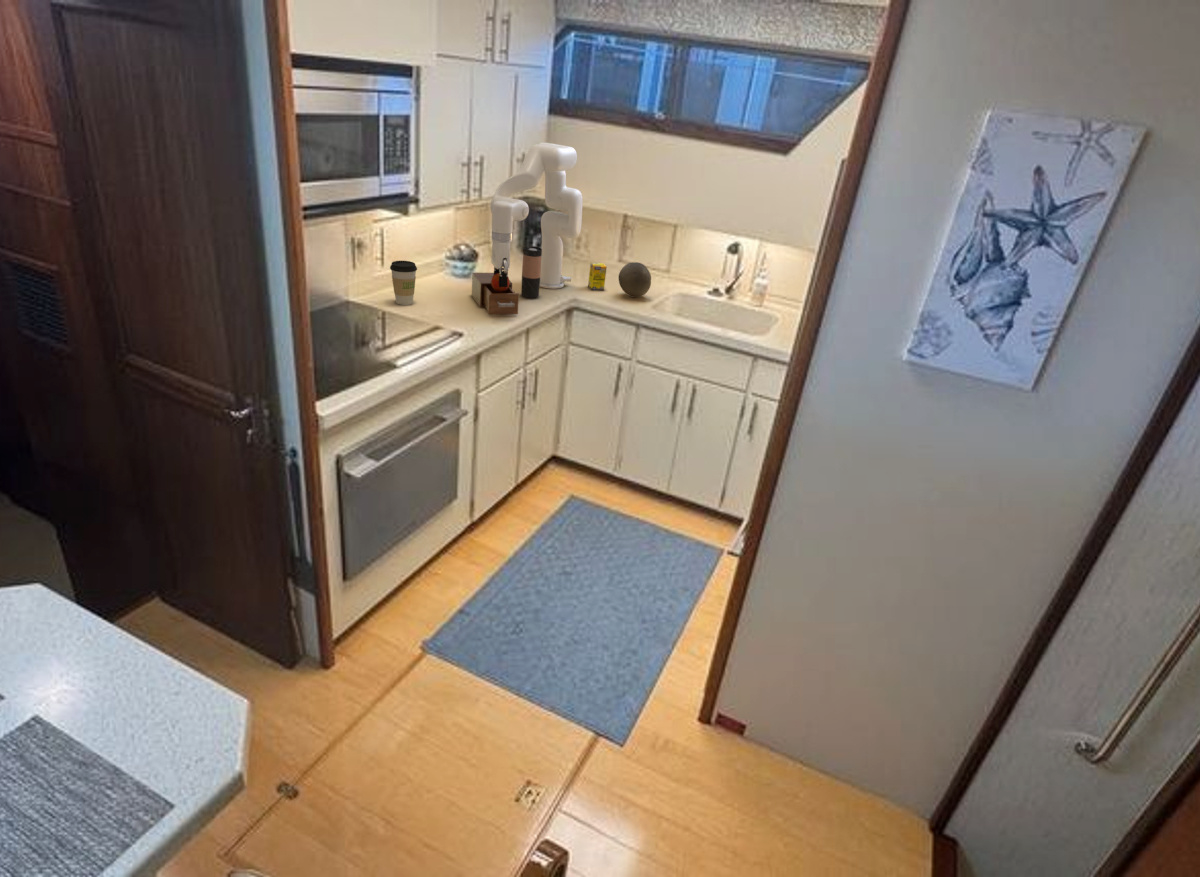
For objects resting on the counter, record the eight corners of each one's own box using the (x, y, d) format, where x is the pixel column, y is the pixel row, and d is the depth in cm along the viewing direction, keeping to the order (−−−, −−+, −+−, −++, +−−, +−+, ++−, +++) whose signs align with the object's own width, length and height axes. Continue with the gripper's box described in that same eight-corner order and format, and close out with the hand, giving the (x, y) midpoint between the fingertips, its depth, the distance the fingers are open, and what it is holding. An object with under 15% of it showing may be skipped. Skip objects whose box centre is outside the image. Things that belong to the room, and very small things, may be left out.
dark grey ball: (628, 290, 314) (632, 257, 306) (654, 298, 307) (659, 264, 300) (610, 295, 303) (614, 261, 296) (637, 304, 296) (642, 269, 289)
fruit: (512, 291, 266) (513, 270, 263) (502, 295, 261) (503, 274, 257) (497, 287, 269) (498, 267, 265) (487, 291, 263) (487, 270, 259)
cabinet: (511, 306, 274) (512, 283, 270) (480, 307, 269) (480, 283, 265) (501, 295, 286) (502, 272, 281) (471, 295, 281) (472, 272, 277)
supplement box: (591, 290, 307) (594, 266, 302) (587, 286, 312) (590, 262, 306) (604, 290, 309) (607, 266, 303) (600, 286, 313) (602, 262, 308)
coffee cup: (418, 306, 262) (417, 267, 255) (391, 306, 259) (390, 266, 252) (416, 298, 270) (416, 260, 263) (390, 298, 267) (389, 259, 260)
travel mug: (535, 300, 285) (539, 251, 276) (518, 297, 286) (520, 248, 277) (541, 295, 292) (544, 247, 283) (523, 292, 293) (526, 245, 284)
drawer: (521, 318, 261) (522, 297, 257) (491, 318, 257) (492, 298, 253) (508, 302, 275) (509, 283, 272) (480, 303, 271) (480, 283, 267)
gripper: (486, 230, 260) (485, 277, 269) (498, 242, 246) (496, 290, 255) (505, 231, 263) (504, 276, 272) (518, 242, 249) (516, 290, 258)
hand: (500, 283), depth 263 cm, fingers closed on fruit, 7 cm apart
